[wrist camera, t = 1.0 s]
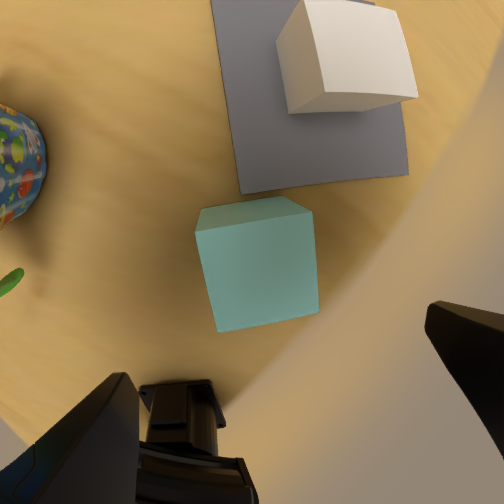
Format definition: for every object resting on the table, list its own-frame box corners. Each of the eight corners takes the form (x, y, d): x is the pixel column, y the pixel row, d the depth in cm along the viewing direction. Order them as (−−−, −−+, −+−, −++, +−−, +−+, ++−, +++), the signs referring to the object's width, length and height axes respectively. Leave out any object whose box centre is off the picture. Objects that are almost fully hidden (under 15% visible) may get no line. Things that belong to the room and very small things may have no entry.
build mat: (403, 174, 18) (408, 175, 17) (240, 193, 17) (241, 194, 16) (370, 5, 13) (374, 2, 13) (210, -1, 13) (210, -6, 12)
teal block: (289, 268, 19) (319, 312, 13) (216, 282, 19) (217, 333, 13) (281, 195, 17) (312, 211, 12) (201, 208, 17) (194, 232, 11)
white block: (361, 111, 16) (418, 97, 10) (288, 114, 15) (324, 91, 10) (347, 44, 14) (395, 11, 8) (275, 42, 14) (302, -5, 8)
